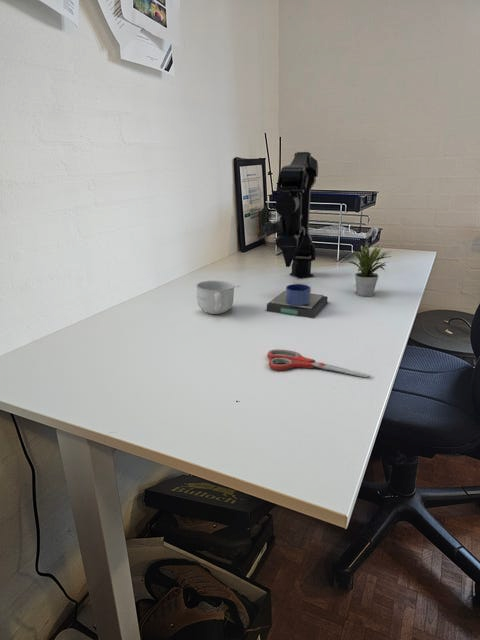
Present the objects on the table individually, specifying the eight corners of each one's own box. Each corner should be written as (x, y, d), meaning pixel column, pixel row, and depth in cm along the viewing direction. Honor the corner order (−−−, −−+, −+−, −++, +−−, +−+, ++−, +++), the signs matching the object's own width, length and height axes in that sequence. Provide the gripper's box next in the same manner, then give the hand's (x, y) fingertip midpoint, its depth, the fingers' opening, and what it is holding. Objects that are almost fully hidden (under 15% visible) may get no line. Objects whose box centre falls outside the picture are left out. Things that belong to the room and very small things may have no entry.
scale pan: (286, 292, 125) (286, 290, 125) (323, 296, 120) (323, 294, 120) (271, 303, 115) (271, 301, 115) (311, 309, 110) (311, 307, 110)
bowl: (301, 297, 118) (301, 282, 117) (314, 304, 112) (315, 288, 111) (281, 300, 116) (281, 286, 114) (293, 307, 110) (294, 292, 108)
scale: (283, 297, 127) (284, 291, 127) (327, 302, 121) (327, 296, 121) (266, 311, 115) (266, 304, 115) (313, 318, 109) (313, 311, 109)
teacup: (200, 304, 122) (198, 279, 119) (235, 304, 121) (235, 278, 119) (193, 321, 109) (192, 293, 106) (233, 321, 108) (232, 293, 106)
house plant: (381, 304, 119) (388, 250, 113) (336, 297, 126) (340, 245, 120) (393, 292, 130) (399, 241, 124) (351, 286, 137) (355, 238, 131)
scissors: (369, 378, 78) (369, 372, 78) (263, 369, 83) (263, 363, 82) (365, 361, 85) (366, 355, 85) (268, 353, 90) (268, 347, 89)
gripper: (271, 207, 130) (271, 255, 136) (257, 216, 113) (258, 269, 119) (306, 208, 127) (304, 256, 133) (297, 216, 110) (295, 271, 116)
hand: (290, 263), depth 125 cm, fingers open, 9 cm apart
